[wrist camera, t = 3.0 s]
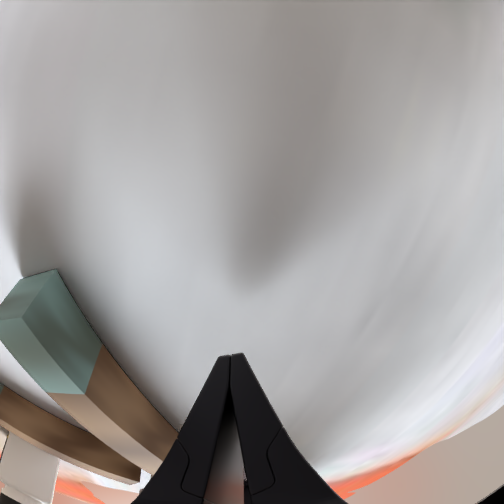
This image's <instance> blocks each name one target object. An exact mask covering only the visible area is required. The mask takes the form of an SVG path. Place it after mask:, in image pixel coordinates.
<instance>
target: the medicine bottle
mask: <svg viewBox="0 0 504 504" xmlns="http://www.w3.org/2000/svg"><path fill="white" fill-rule="evenodd" d="M59 464H60V458H58V457H56V456H54V455H52V454H50V453H47V452H46V451H44V450H42V449H40V448H38V447H36V446H34V445H32V444H30V443H29V442H27V441H25V440H23V439H22V438H20V437H18V436H17V435H15V434H13V433H12V432H9V433H8V436H7V439H6V442H5V445H4V448H3V451H2V455H1V458H0V481H2V482H3V483H4V484H5V487H4V488H2V489H1V494H0V504H52V500H53V495H54V489H55V484H56V479H57V474H58V470H59Z"/></svg>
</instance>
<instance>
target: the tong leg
mask: <svg viewBox="0 0 504 504" xmlns="http://www.w3.org/2000/svg"><path fill="white" fill-rule="evenodd" d="M0 340H1V342H2V343H3V344H4V345H5V347H6V348H7V349H8V351H9V352H10V353H11V354H12V355H13V357H14V358H15V359H16V360H17V361H18V363H19V364H20V365H21V366H22V367H23V368H24V370H25V371H26V372H27V373H28V374H29V375H30V376H31V377H32V378H33V379H34V381H35V382H36V383H37V384H38V385H39V386H40V387H41V388H42V389H43V390H44V391H45V392H46V393H47V394H48V395H49V396H50V397H51V398H52V399H53V400H54V401H55V402H56V403H57V404H58V405H60V406H61V407H62V408H63V409H64V410H65V411H66V412H67V413H68V414H69V415H71V416H72V417H73V418H74V419H75V420H76V421H77V422H79V423H80V424H81V425H82V426H83V427H85V428H86V429H87V430H88V431H89V432H91V433H92V434H93V435H95V436H96V437H97V438H98V439H100V440H101V441H102V442H104V443H105V444H106V445H108V446H109V447H110V448H112V449H113V450H115V451H116V452H117V453H119V454H120V455H122V456H123V457H125V458H126V459H128V460H129V461H131V462H132V463H134V464H135V465H137V466H138V467H140V468H141V469H143V470H145V471H146V472H148V473H150V474H151V475H154V474H155V472H156V471H157V470H158V468H159V467H160V465H161V464H162V462H163V461H164V459H165V458H166V456H167V454H168V452H169V451H170V449H171V447H172V445H173V443H174V441H175V439H178V438H177V436H178V434H179V433H178V432H177V431H176V430H175V429H174V428H173V427H172V426H171V425H170V424H169V423H168V422H167V421H166V420H165V419H164V418H163V417H162V416H161V414H160V413H159V412H158V411H157V410H156V409H155V408H154V407H153V406H152V405H151V404H150V402H149V401H148V400H147V399H146V398H145V397H144V396H143V394H142V393H141V392H140V391H139V390H138V389H137V387H136V386H135V385H134V384H133V383H132V381H131V380H130V379H129V378H128V376H127V375H126V374H125V373H124V371H123V370H122V369H121V368H120V366H119V365H118V364H117V362H116V361H115V360H114V358H113V357H112V356H111V354H110V353H109V352H108V350H107V349H106V348H105V346H104V345H103V343H102V342H101V341H100V339H99V338H98V336H97V335H96V333H95V332H94V331H93V329H92V328H91V326H90V325H89V323H88V322H87V320H86V318H85V317H84V315H83V314H82V312H81V311H80V309H79V308H78V306H77V304H76V303H75V301H74V299H73V298H72V296H71V294H70V293H69V291H68V289H67V288H66V286H65V284H64V282H63V281H62V279H61V277H60V275H59V273H58V271H57V270H56V269H55V270H51V271H47V272H44V273H40V274H37V275H34V276H30V277H27V278H23V279H20V280H19V282H18V283H17V284H16V285H15V287H14V288H13V289H12V290H11V292H10V293H9V294H8V295H7V297H6V298H5V299H4V301H3V302H2V303H1V305H0Z"/></svg>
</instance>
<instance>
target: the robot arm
mask: <svg viewBox="0 0 504 504" xmlns="http://www.w3.org/2000/svg"><path fill="white" fill-rule="evenodd" d="M177 438H178V439H175V441H174V443H173V445H172V447H171V449H170V451H169V452H168V454H167V456H166V458H165V459H164V461H163V462H162V464H161V465H160V467H159V468H158V470H157V471H156V472H155V474H154V475H153V477H152V478H151V479H150V481H149V482H148V483H147V485H146V486H145V488H144V489H143V490H142V492H141V493H140V494H139V496H138V497H137V498H136V499H135V500H134V501H133V502H132V503H131V504H348V503H347V502H345V501H344V500H343V499H342V498H341V497H340V496H339V495H337V494H336V493H335V492H334V491H333V490H332V489H331V488H330V486H329V485H328V484H327V483H326V482H325V481H324V480H323V479H322V478H321V477H320V475H319V474H318V473H317V472H316V471H315V470H314V469H313V468H312V466H311V465H310V464H309V463H308V462H307V461H306V459H305V458H304V457H303V456H302V454H301V453H300V452H299V450H298V449H297V448H296V446H295V445H294V443H293V442H292V440H291V438H290V437H289V435H288V434H287V432H286V430H285V428H283V425H282V423H281V422H280V420H279V418H278V416H277V414H276V413H275V411H274V409H273V407H272V406H271V404H270V402H269V400H268V398H267V397H266V395H265V393H264V391H263V389H262V387H261V386H260V384H259V382H258V380H257V378H256V376H255V374H254V372H253V371H252V369H251V367H250V365H249V363H248V361H247V359H246V357H245V355H244V354H243V353H236V354H232V355H224V356H220V357H218V359H217V361H216V363H215V365H214V367H213V369H212V370H211V372H210V374H209V376H208V378H207V380H206V382H205V384H204V386H203V388H202V390H201V392H200V394H199V396H198V398H197V400H196V402H195V403H194V405H193V407H192V409H191V411H190V413H189V415H188V417H187V419H186V421H185V423H184V425H183V426H182V428H181V430H180V432H179V434H178V436H177ZM244 469H245V474H246V479H247V482H244ZM476 504H504V484H503V485H502V486H500V487H499V488H498V489H496V490H495V491H493V492H492V493H491V494H489V495H488V496H486V497H485V498H483V499H482V500H480V501H479V502H477V503H476Z"/></svg>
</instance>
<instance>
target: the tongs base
mask: <svg viewBox="0 0 504 504" xmlns="http://www.w3.org/2000/svg"><path fill="white" fill-rule="evenodd" d="M0 425H1V426H2V427H4V428H5V429H7V430H8V431H10V432H12V433H13V434H15V435H17V436H18V437H20V438H22V439H23V440H25V441H27V442H29V443H30V444H32V445H34V446H36V447H38V448H40V449H42V450H44V451H46V452H47V453H50V454H52V455H54V456H56V457H58V458H60V459H62V460H64V461H66V462H69V463H71V464H73V465H76V466H78V467H80V468H83V469H85V470H88V471H90V472H93V473H96V474H98V475H101V476H104V477H107V478H110V479H113V480H116V481H119V482H122V483H125V484H129V485H132V484H136V483H139V482H140V474H141V468H140V467H138V466H137V465H135V464H134V463H132V462H131V461H129V460H128V459H126V458H125V457H123V456H122V455H120V454H119V453H117V452H116V451H115V450H113V449H112V448H110V447H109V446H108V445H106V444H105V443H104V442H102V441H101V440H100V439H98V438H97V437H96V436H95V435H93V434H91V433H88V432H86V431H84V430H82V429H80V428H77V427H75V426H73V425H71V424H69V423H67V422H65V421H63V420H61V419H59V418H57V417H55V416H54V415H52V414H50V413H48V412H46V411H44V410H43V409H41V408H39V407H37V406H36V405H34V404H32V403H31V402H29V401H27V400H26V399H24V398H22V397H21V396H19V395H18V394H16V393H15V392H13V391H12V390H10V389H9V388H7V387H6V386H4V385H3V384H1V383H0ZM152 477H153V475H151V478H152ZM142 490H143V489H140V493H141V492H142ZM140 493H139V494H140Z"/></svg>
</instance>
